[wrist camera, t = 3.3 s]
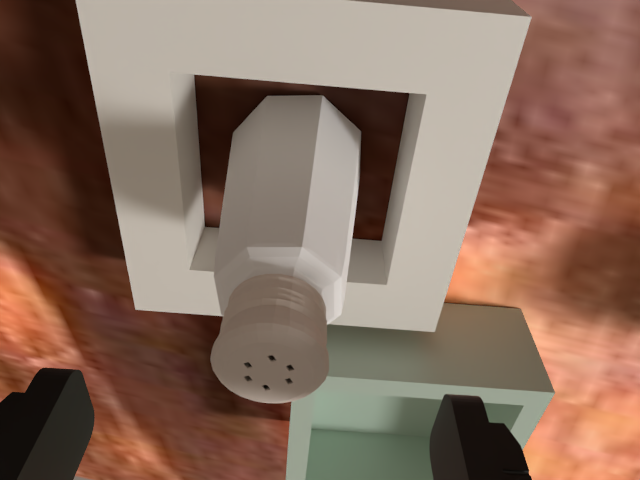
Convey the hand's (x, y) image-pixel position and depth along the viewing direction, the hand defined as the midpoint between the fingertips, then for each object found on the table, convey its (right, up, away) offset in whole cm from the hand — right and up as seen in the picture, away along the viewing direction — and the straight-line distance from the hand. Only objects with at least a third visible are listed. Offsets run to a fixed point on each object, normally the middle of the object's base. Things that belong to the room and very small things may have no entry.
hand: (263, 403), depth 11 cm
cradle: (0, +7, +9) cm, 12 cm away
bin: (+5, -4, +17) cm, 18 cm away
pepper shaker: (0, +7, +9) cm, 12 cm away
